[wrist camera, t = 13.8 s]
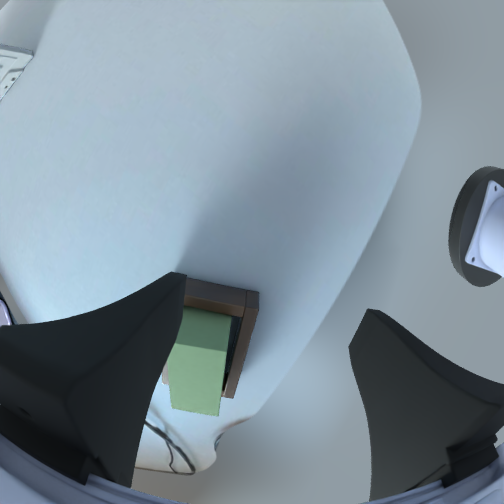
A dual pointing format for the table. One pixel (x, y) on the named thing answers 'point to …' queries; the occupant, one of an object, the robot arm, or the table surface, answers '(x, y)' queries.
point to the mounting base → (231, 304)
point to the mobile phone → (4, 314)
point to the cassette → (11, 65)
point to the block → (199, 361)
